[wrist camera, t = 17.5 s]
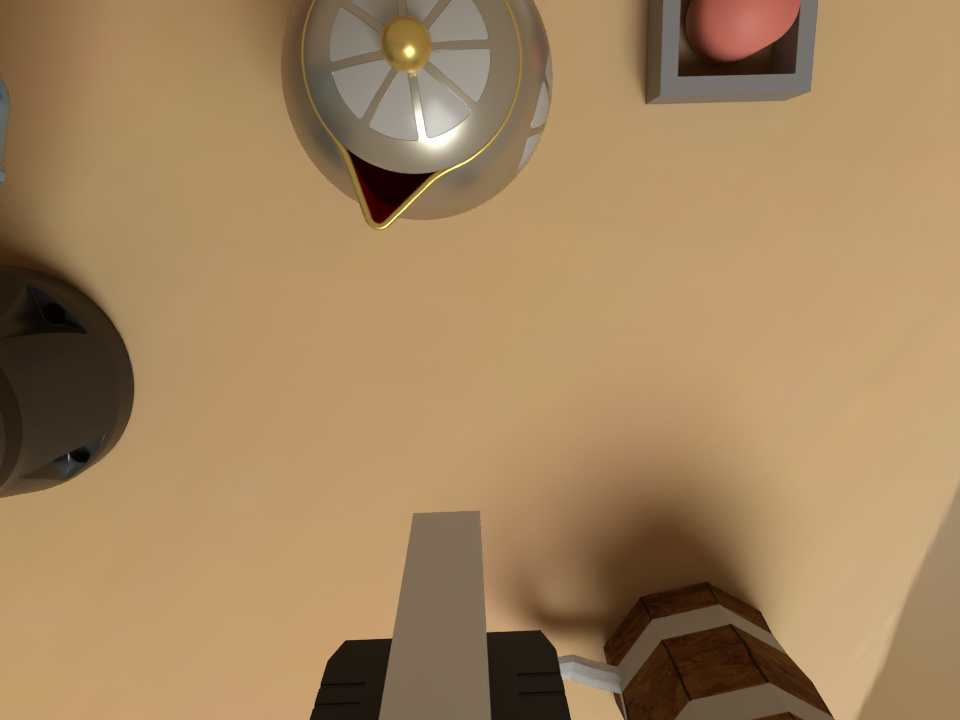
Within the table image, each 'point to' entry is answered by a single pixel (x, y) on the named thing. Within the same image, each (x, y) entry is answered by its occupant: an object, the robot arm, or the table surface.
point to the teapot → (417, 99)
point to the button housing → (781, 85)
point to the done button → (737, 27)
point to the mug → (698, 663)
